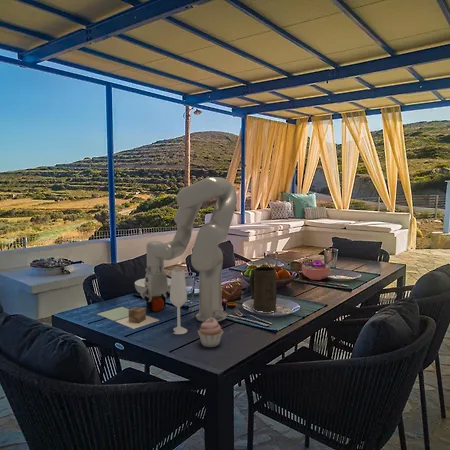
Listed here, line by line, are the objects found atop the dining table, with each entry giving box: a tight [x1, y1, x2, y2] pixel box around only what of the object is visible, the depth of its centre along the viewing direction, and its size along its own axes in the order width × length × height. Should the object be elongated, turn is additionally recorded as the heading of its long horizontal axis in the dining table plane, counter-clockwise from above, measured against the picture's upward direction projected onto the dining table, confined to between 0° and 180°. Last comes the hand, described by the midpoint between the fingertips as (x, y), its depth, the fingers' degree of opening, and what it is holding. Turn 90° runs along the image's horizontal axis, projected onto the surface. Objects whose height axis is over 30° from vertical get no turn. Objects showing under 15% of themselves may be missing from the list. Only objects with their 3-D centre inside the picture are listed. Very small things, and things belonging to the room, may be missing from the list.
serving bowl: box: [134, 277, 171, 297], centre depth 204 cm, size 21×21×7 cm
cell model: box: [301, 259, 331, 281], centre depth 235 cm, size 17×20×11 cm
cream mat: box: [115, 314, 160, 330], centre depth 163 cm, size 13×13×1 cm
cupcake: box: [197, 318, 224, 348], centre depth 140 cm, size 9×9×10 cm
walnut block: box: [128, 306, 147, 323], centre depth 163 cm, size 5×5×5 cm
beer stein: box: [249, 266, 277, 312], centre depth 179 cm, size 15×10×20 cm
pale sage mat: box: [96, 306, 131, 321], centre depth 172 cm, size 13×13×1 cm
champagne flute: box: [169, 269, 188, 335], centre depth 152 cm, size 7×7×24 cm
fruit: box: [151, 296, 165, 313], centre depth 176 cm, size 7×7×8 cm
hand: (156, 307), depth 176 cm, fingers closed on fruit, 7 cm apart
